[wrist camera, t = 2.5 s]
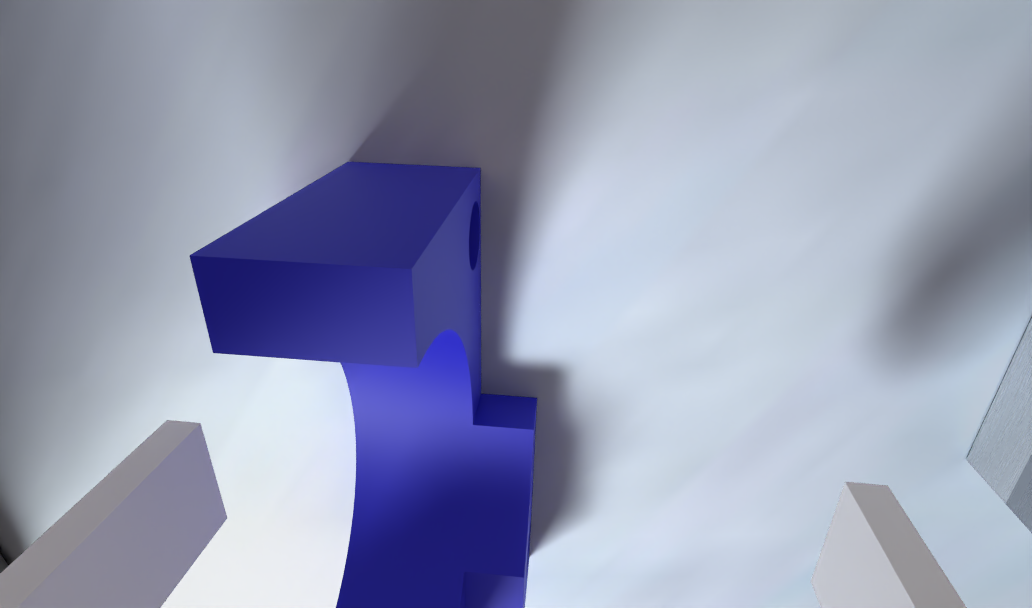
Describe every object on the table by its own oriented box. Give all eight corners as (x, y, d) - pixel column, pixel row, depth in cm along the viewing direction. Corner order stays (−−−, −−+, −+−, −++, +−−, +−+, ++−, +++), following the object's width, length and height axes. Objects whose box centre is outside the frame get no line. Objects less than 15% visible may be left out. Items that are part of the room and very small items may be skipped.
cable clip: (529, 552, 18) (509, 778, 12) (388, 539, 18) (310, 753, 13) (548, 169, 13) (527, 276, 7) (350, 160, 13) (189, 255, 8)
